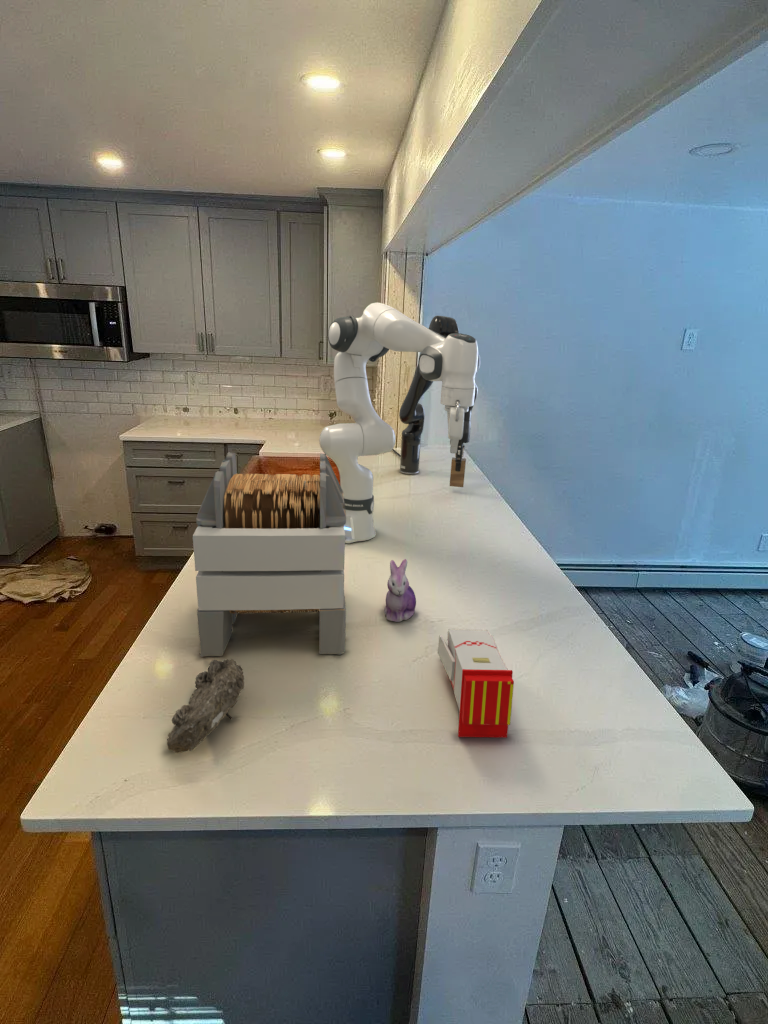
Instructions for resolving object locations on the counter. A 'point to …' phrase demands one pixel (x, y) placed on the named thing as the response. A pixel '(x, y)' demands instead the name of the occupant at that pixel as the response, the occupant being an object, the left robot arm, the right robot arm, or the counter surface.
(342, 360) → the left robot arm
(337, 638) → the record crate
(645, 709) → the counter surface
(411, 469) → the right robot arm
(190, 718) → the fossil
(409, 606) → the figurine
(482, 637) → the toy
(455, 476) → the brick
